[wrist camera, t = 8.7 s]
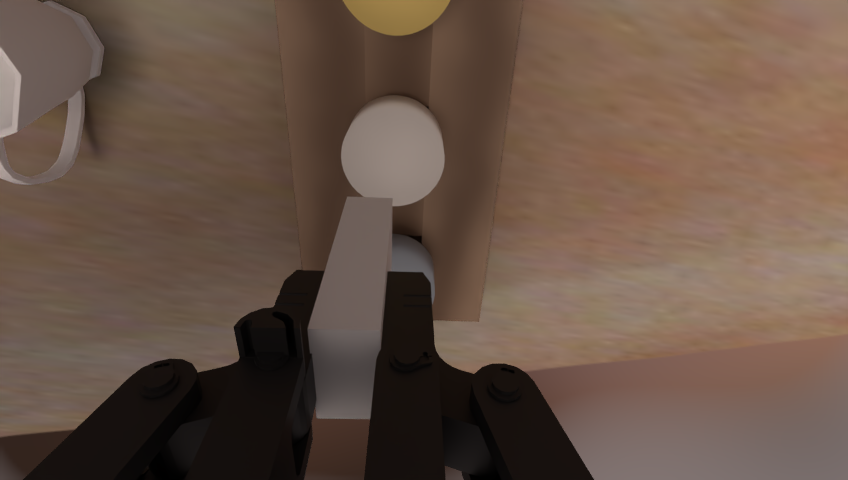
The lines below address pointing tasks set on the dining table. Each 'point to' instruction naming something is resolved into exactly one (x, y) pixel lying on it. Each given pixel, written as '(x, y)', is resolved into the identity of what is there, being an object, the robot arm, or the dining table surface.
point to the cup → (44, 75)
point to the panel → (424, 82)
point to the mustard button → (396, 14)
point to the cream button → (393, 150)
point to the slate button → (412, 258)
